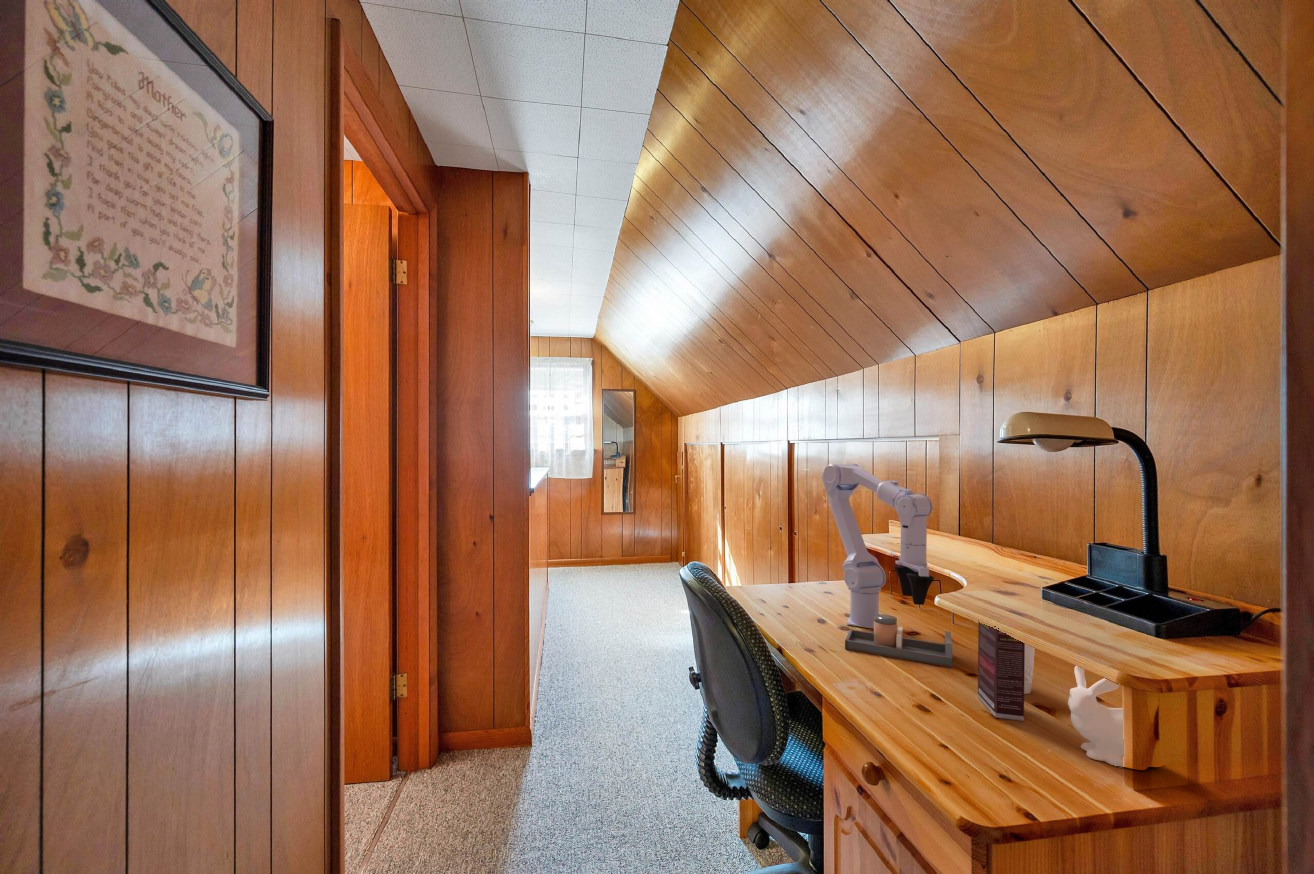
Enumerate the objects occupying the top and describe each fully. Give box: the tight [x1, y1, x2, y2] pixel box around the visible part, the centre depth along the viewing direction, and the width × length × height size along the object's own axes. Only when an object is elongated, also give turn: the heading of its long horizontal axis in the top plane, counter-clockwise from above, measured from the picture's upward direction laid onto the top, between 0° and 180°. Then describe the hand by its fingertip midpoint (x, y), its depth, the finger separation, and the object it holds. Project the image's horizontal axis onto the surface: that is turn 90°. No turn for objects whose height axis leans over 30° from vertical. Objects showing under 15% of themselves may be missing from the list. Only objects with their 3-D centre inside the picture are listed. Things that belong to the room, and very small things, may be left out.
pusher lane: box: [844, 628, 953, 668], centre depth 126 cm, size 9×22×5 cm, turn 63°
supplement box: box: [977, 621, 1025, 722], centre depth 98 cm, size 9×5×16 cm, turn 168°
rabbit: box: [1067, 665, 1124, 767], centre depth 83 cm, size 12×9×12 cm
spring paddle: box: [896, 626, 904, 649], centre depth 126 cm, size 7×1×4 cm, turn 153°
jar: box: [873, 613, 898, 648], centre depth 127 cm, size 5×5×7 cm
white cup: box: [1024, 644, 1036, 695], centre depth 107 cm, size 8×8×10 cm
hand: (912, 599), depth 132 cm, fingers open, 7 cm apart
